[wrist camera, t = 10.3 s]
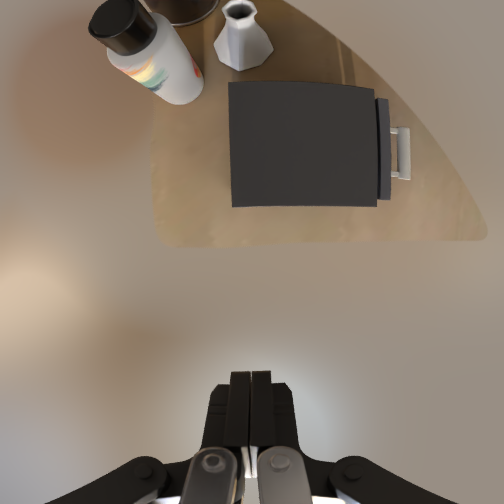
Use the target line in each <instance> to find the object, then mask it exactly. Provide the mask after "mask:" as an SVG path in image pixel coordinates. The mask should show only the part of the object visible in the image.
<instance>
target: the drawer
mask: <svg viewBox="0 0 504 504" xmlns="http://www.w3.org/2000/svg"><path fill="white" fill-rule="evenodd" d="M375 109H376V125H377V154H378V182H377V199H379V200H390V196H391V176H395V177H397V178H398V179H409V180H410V129H409V128H407V127H397V128H392V127H390V118H389V105H388V99H382V98H377V99H375ZM390 133H394V134H397V171H391V137H390Z"/></svg>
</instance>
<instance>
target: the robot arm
mask: <svg viewBox="0 0 504 504" xmlns="http://www.w3.org/2000/svg"><path fill="white" fill-rule="evenodd" d="M144 1H145V3H146V4H147V6H148V7H149V8H150V10H151V11H152V12H153V13H158V14H161V15H163V16H164V17H165V18H167V19H168V21H169V22H170V23H171V25H172V26H173V27H181V26H188V25H191V24H194V23H197V22H199V21H201V20H203V19H205V18H206V17H208V16H209V15H210V14H211V13H212V12H213V11H214V10H215V9H216V7H217V5H218V3H219V0H144ZM252 468H253V477H254V478H256V477H257V479H258V489H259V499H260V504H457V503H455V502H452V501H450V500H448V499H445V498H443V497H440V496H438V495H436V494H434V493H431V492H429V491H427V490H425V489H423V488H421V487H418V486H416V485H414V484H412V483H410V482H408V481H406V480H404V479H403V478H401V477H399V476H397V475H395V474H393V473H391V472H389V471H387V470H386V469H383V468H382V467H380V466H378V465H376V464H375V463H373V462H371V461H370V460H368V459H366V458H364V457H361V456H348V457H345V458H342V459H340V460H338V461H337V462H336V463H334V462H325V461H318V460H314V459H312V458H310V457H308V456H306V455H305V454H304V453H303V452H302V450H301V449H300V447H299V442H298V435H297V426H296V419H295V413H294V405H293V397H292V391H291V390H290V389H289V387H288V386H287V385H286V384H285V383H271V371H252V379H251V372H249V371H245V372H231V377H230V385H228V384H227V385H226V384H218V385H217V386H216V388H215V389H214V390H213V391H212V393H211V395H210V401H209V406H208V412H207V417H206V422H205V428H204V433H203V439H202V445H201V448H200V450H199V451H198V452H197V453H196V454H195V455H194V457H192V458H190V459H188V460H186V461H182V462H176V463H169V464H162V462H160V461H159V460H158V459H156V458H153V457H149V456H141V457H137V458H135V459H132V460H131V461H129V462H127V463H126V464H124V465H122V466H120V467H119V468H117V469H116V470H113V471H112V472H110V473H108V474H106V475H104V476H102V477H100V478H99V479H97V480H95V481H93V482H91V483H89V484H87V485H85V486H83V487H81V488H79V489H77V490H75V491H72V492H70V493H68V494H66V495H64V496H62V497H60V498H57V499H55V500H52V501H50V502H48V503H45V504H243V498H244V491H245V478H252Z"/></svg>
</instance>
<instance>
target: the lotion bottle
mask: <svg viewBox="0 0 504 504" xmlns="http://www.w3.org/2000/svg"><path fill="white" fill-rule="evenodd" d="M88 30H89V33H90V34H91V35H92V36H93V37H94V38H96V39H97V40H99V41H100V42H101V43H102V44H104V45H105V46H107V55H108V58H109V60H110V62H111V63H112V64H113V65H114V66H115V67H117V68H118V69H120V70H121V71H123V72H124V73H126V74H127V75H129V76H130V77H132V78H133V79H135V80H136V81H138V82H139V83H141V84H142V85H144V86H145V87H147V88H148V89H150V90H151V91H153V92H154V93H156V94H157V95H158V96H160V97H161V98H163V99H164V100H166V101H167V102H169V103H172V104H176V105H182V104H187V103H189V102H191V101H193V100H194V99H196V98H197V97H198V96H199V94H200V93H201V91H202V89H203V84H204V80H203V76H202V73H201V71H200V70H199V68H198V66H197V65H196V63H195V61H194V60H193V58H192V56H191V55H190V53H189V51H188V50H187V48H186V47H185V45H184V43H183V42H182V40H181V39H180V37H179V35H178V34H177V32H176V31H175V29H174V28H173V26H172V25H171V23H170V22H169V21H168V19H167V18H165V17H164V16H163V15H161V14H158V13H151V12H147V10H146V9H145V8H144V7H143V5H142V4H141V3H140V2H139V1H138V0H108V1H106V2H105V3H103V4H102V5H101V6H99V8H98V9H97V10H96V11H95V13H94V15H93V17H92V19H91V21H90V23H89V27H88Z"/></svg>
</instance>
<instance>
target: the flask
mask: <svg viewBox="0 0 504 504" xmlns="http://www.w3.org/2000/svg"><path fill="white" fill-rule="evenodd" d="M222 11H223V13H224V15H225V18H226V23H225V26H224V28H223V30H222V31H221V33H220V35H219V36H218V38H217V39H216V41H215V43H214V44H213V45H214V47H215V50H216V52H217V55H218V57H219V60H220V61H221V62H222V63H224V64H226V65H228V66H230V67H232V68H234V69H235V70H237V71H242V70H245V69H249V68H252V67H256V66H259V65H261V64H262V63H263V62H264V61H265V60H266V58H267V57H268V56H269V55H270V54H271V53H272V51H273V50H274V49H273V47H272V45H271V42H270V40H269V38H268V36H267V34H266V32H265V31H264V30H263V29H262V28H261V27H260V26H259V25H258V24H257V23H256V22H255V21H254V15H255V14H256V13H257V10H256V8H255V6H254V4H253V2H251V1H249V0H231V1H229V2H228V3H227V4H226V5H225V6H224V7H223V8H222Z"/></svg>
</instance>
